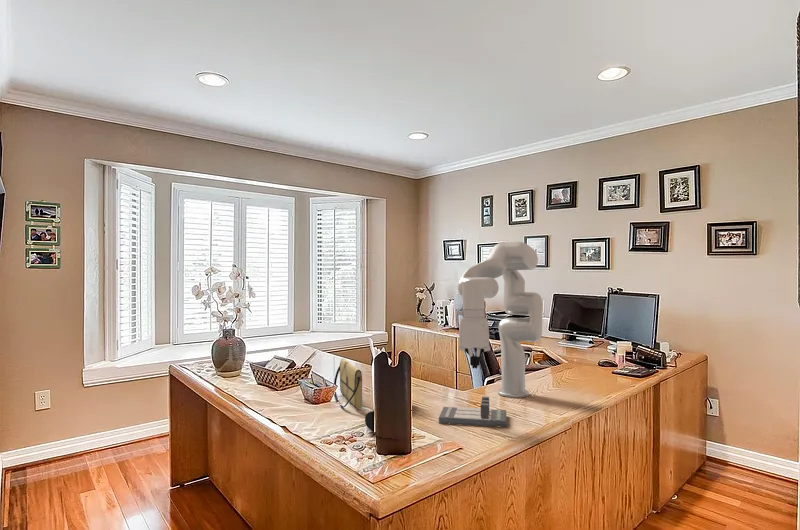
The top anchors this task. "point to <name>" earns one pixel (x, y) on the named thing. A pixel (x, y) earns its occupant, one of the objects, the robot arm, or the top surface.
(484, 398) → the handle
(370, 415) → the end cap
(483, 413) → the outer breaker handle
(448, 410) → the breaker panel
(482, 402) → the handle
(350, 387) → the clutch purse
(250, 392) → the top surface
